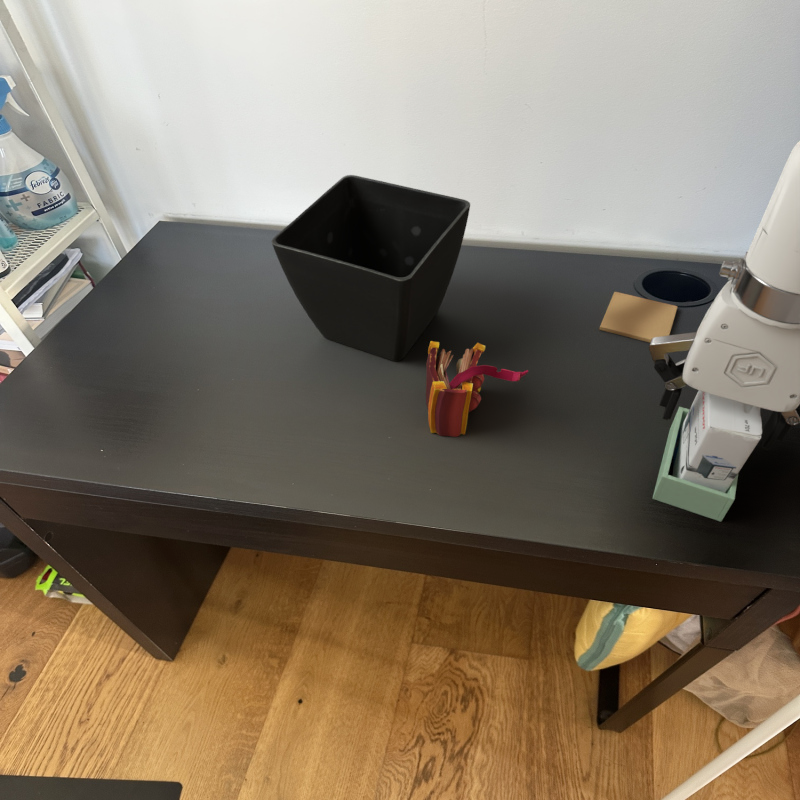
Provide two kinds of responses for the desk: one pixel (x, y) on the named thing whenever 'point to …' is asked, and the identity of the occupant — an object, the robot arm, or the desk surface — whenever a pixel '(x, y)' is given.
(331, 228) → the flower pot
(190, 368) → the desk surface
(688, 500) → the sleeve
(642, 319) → the coaster board
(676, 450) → the ink box
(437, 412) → the book monster
